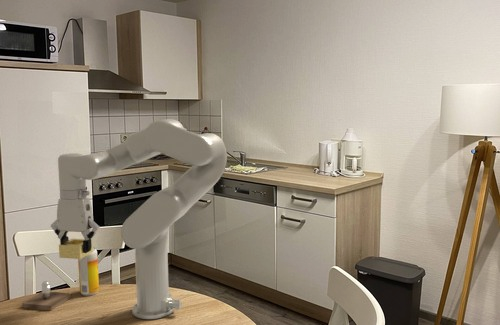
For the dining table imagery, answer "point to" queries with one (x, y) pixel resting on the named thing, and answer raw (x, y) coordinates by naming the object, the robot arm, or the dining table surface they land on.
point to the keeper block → (46, 299)
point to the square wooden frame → (73, 249)
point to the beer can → (89, 274)
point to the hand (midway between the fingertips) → (76, 250)
